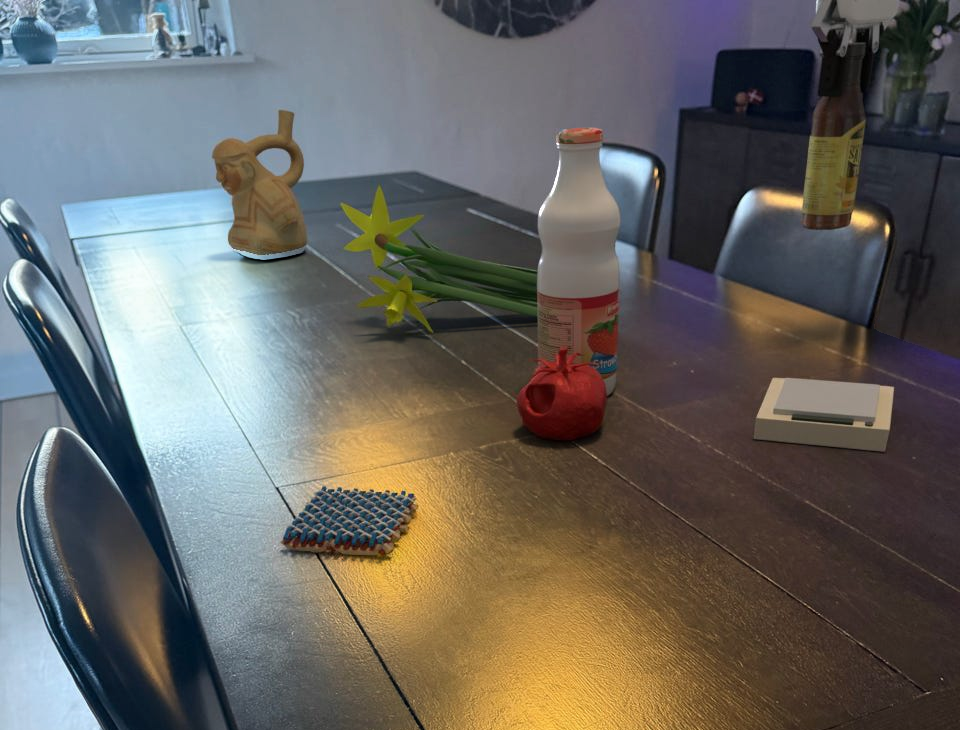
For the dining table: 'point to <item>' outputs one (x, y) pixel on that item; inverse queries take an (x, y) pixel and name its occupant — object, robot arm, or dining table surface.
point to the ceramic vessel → (262, 192)
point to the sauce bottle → (835, 152)
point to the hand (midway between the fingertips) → (843, 92)
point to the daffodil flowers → (434, 271)
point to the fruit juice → (579, 259)
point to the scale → (826, 413)
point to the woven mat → (351, 522)
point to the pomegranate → (563, 398)
